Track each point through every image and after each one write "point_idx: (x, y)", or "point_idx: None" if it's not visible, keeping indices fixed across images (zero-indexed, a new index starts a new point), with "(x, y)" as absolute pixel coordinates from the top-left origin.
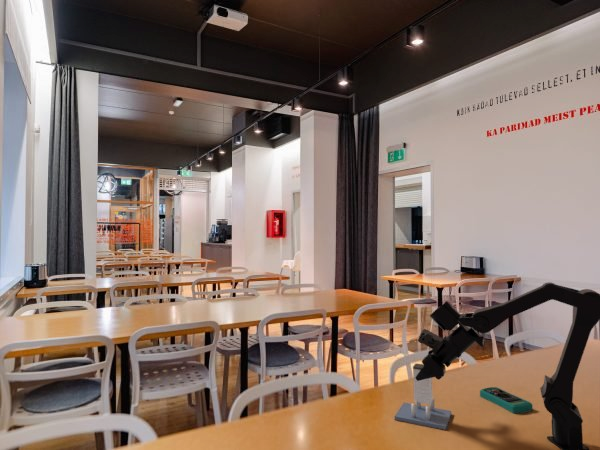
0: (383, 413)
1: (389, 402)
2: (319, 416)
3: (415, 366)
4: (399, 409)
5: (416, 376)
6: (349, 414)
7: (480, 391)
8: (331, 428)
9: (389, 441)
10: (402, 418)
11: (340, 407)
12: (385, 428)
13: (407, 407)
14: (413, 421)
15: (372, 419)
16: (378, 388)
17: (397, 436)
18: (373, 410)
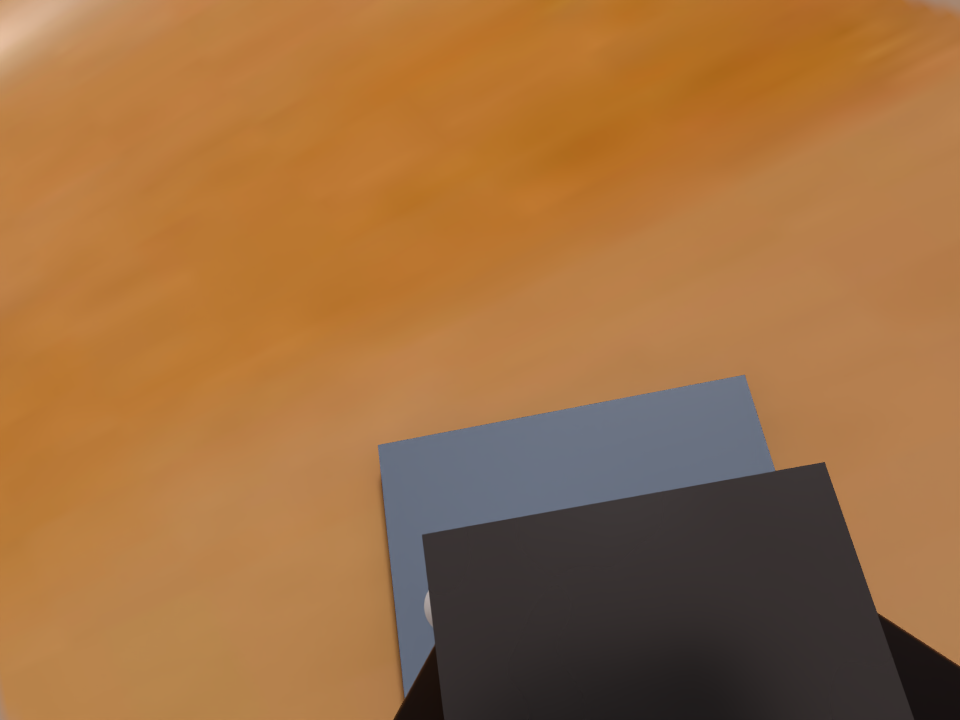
0: (454, 319)
1: (710, 250)
2: (166, 29)
3: (494, 591)
4: (549, 415)
5: (432, 654)
6: (291, 141)
7: None
8: (41, 172)
9: (8, 587)
10: (389, 521)
11: (366, 37)
12: (199, 461)
13: (646, 460)
14: (401, 633)
15: (299, 305)
16: (943, 28)
17: (110, 607)
18: (460, 230)
